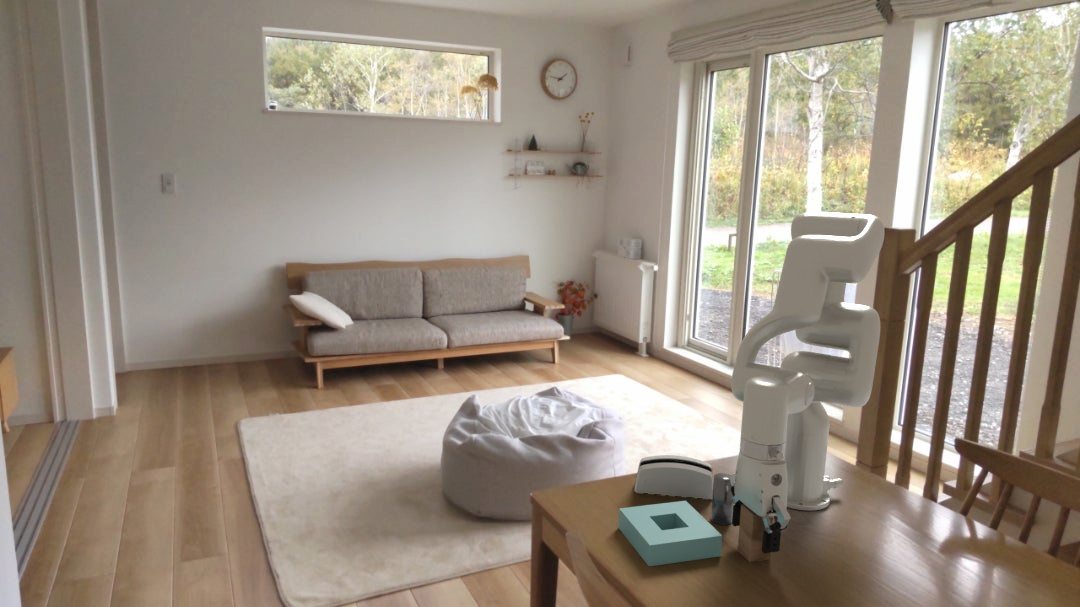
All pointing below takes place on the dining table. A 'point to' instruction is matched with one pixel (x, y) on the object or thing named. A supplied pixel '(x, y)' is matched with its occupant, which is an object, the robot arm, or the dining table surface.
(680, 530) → the bore block
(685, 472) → the slotted arch block
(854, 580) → the dining table surface
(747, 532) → the square peg
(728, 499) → the round peg
